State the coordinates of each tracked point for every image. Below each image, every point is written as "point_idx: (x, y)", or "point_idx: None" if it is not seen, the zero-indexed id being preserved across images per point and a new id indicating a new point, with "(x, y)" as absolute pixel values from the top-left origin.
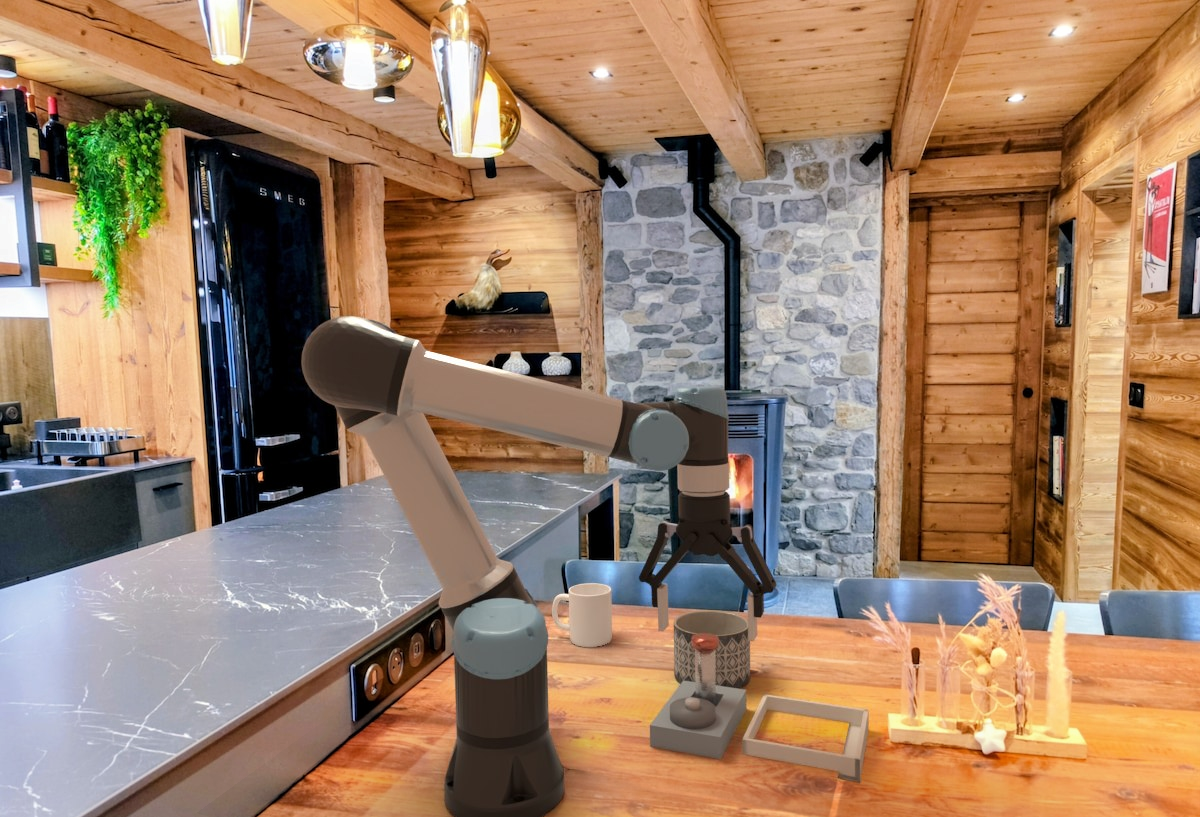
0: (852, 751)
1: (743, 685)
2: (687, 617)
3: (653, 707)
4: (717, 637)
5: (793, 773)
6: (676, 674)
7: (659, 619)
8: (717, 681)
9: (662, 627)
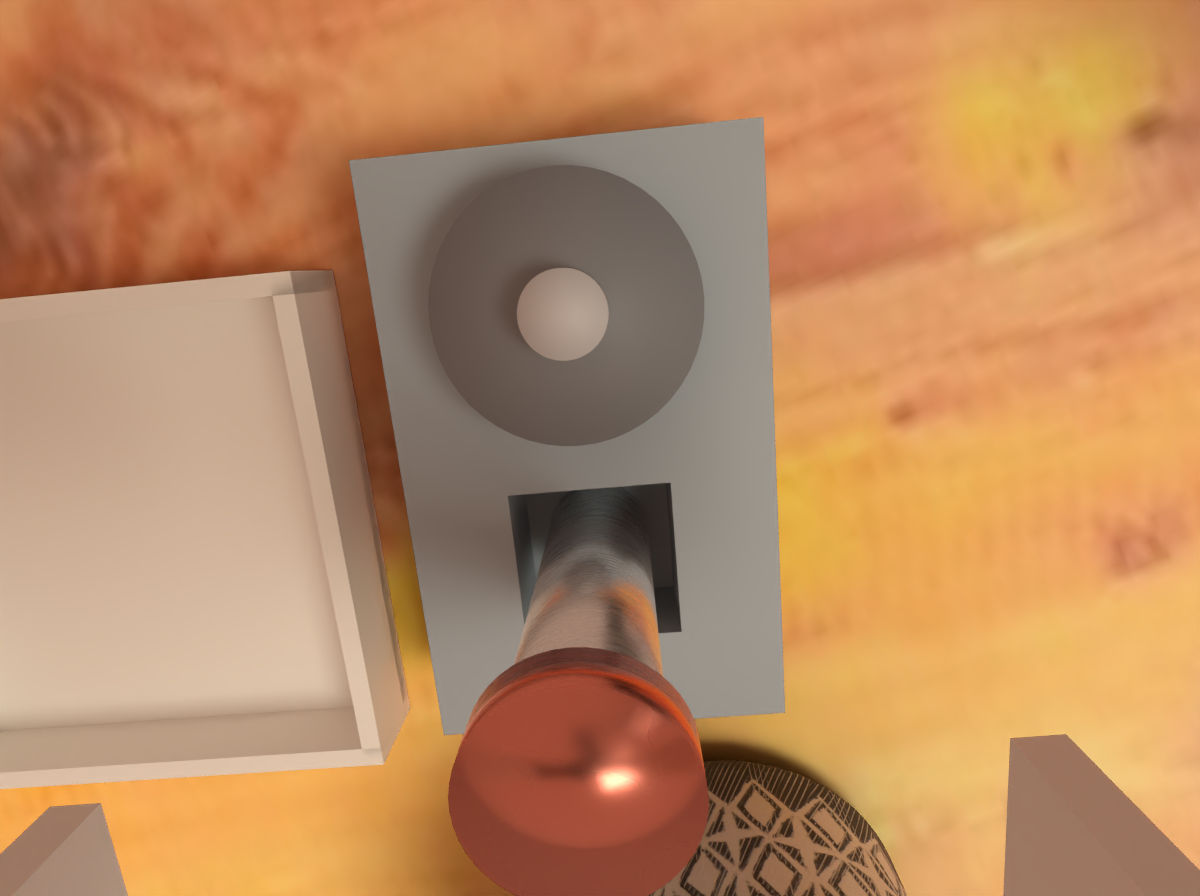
0: None
1: None
2: None
3: (883, 570)
4: (477, 854)
5: (108, 266)
6: (871, 837)
7: (1142, 835)
8: None
9: (1043, 768)
